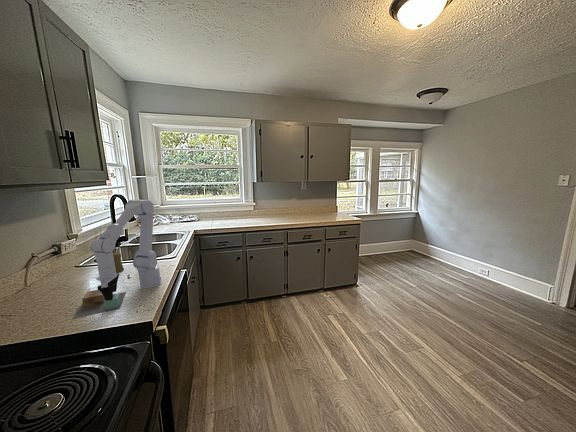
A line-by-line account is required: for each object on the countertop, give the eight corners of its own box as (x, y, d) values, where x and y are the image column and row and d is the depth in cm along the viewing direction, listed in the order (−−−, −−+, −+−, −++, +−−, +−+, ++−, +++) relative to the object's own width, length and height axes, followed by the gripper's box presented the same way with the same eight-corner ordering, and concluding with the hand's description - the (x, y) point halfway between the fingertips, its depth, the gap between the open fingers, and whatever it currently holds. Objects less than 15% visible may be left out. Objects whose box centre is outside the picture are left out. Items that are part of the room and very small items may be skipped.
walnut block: (107, 295, 113) (105, 288, 112) (103, 303, 107) (102, 295, 106) (88, 299, 110) (87, 291, 109) (83, 307, 104) (82, 298, 103)
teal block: (120, 301, 108) (119, 293, 107) (118, 307, 104) (117, 298, 103) (108, 304, 106) (106, 296, 105) (105, 309, 102) (104, 301, 101)
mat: (126, 292, 117) (126, 291, 117) (119, 309, 102) (119, 308, 102) (85, 300, 110) (85, 299, 110) (72, 320, 96) (71, 319, 96)
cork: (113, 269, 143) (110, 252, 141) (125, 268, 145) (122, 251, 143) (110, 274, 138) (107, 255, 135) (122, 272, 140) (119, 254, 137)
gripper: (99, 262, 106) (104, 290, 108) (89, 274, 93) (95, 306, 95) (118, 259, 109) (123, 287, 111) (111, 271, 96) (116, 302, 98)
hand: (111, 295), depth 104 cm, fingers open, 7 cm apart
